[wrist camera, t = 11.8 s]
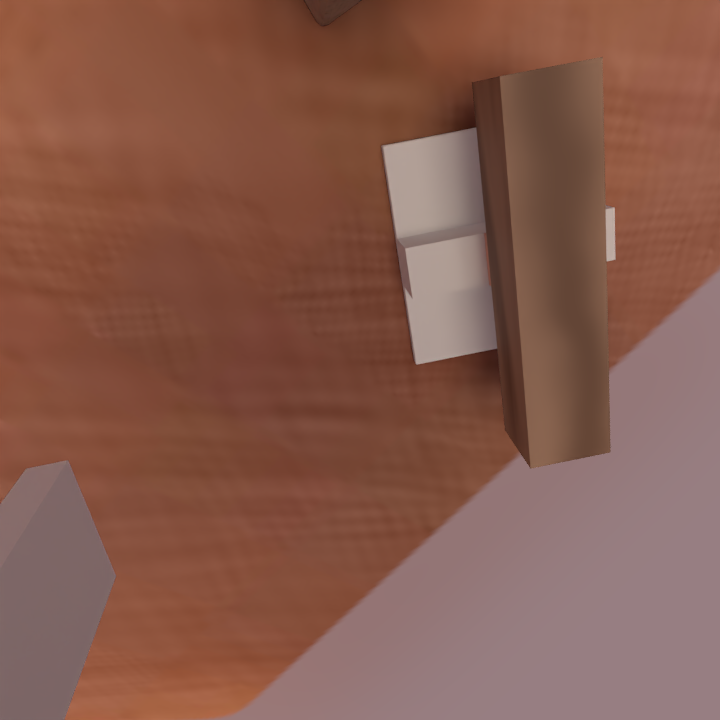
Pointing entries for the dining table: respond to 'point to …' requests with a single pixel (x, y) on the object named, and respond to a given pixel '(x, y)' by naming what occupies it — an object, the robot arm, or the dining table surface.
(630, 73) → the dining table surface
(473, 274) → the stand
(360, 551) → the dining table surface
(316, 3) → the wooden block
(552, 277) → the beam
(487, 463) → the dining table surface
